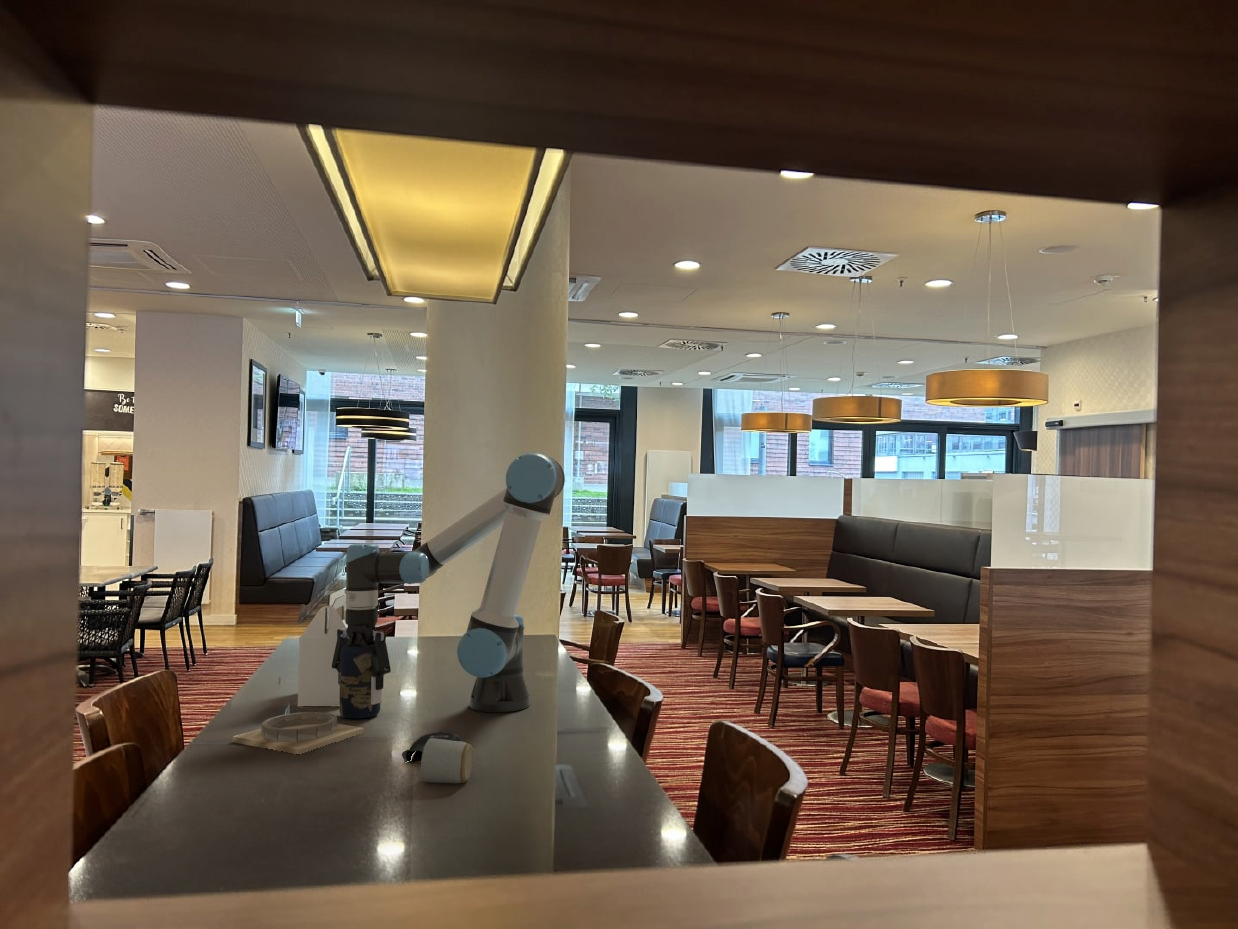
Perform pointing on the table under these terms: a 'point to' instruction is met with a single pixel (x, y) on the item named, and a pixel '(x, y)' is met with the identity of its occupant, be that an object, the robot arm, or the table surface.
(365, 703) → the canister
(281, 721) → the ring holder board
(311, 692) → the gable box
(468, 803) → the table surface
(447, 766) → the ceramic mug
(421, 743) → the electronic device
